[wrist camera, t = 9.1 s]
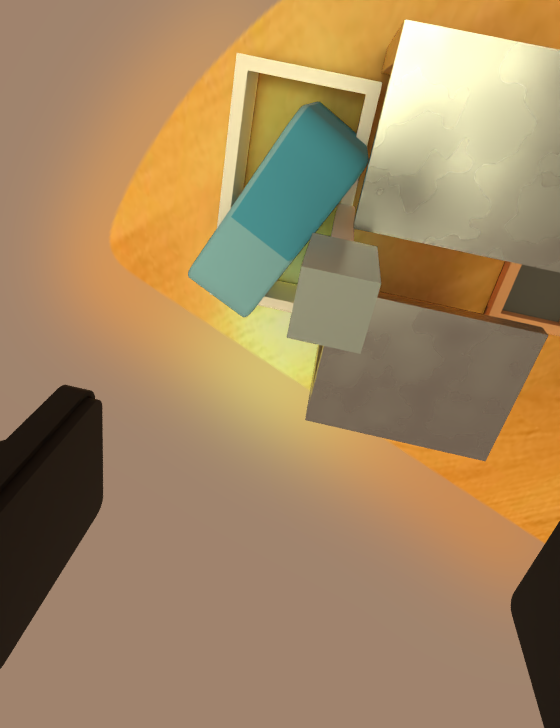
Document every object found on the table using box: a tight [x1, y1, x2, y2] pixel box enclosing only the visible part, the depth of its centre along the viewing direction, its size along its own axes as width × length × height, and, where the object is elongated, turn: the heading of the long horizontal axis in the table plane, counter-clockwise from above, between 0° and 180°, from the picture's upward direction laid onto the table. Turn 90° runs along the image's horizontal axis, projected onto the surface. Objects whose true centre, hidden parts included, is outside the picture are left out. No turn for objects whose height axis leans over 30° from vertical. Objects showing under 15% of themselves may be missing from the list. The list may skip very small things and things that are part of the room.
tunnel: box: [305, 19, 560, 461], centre depth 31 cm, size 11×20×15 cm, turn 170°
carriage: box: [210, 53, 382, 354], centre depth 29 cm, size 10×16×22 cm, turn 170°
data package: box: [188, 102, 369, 317], centre depth 33 cm, size 12×4×12 cm, turn 143°
